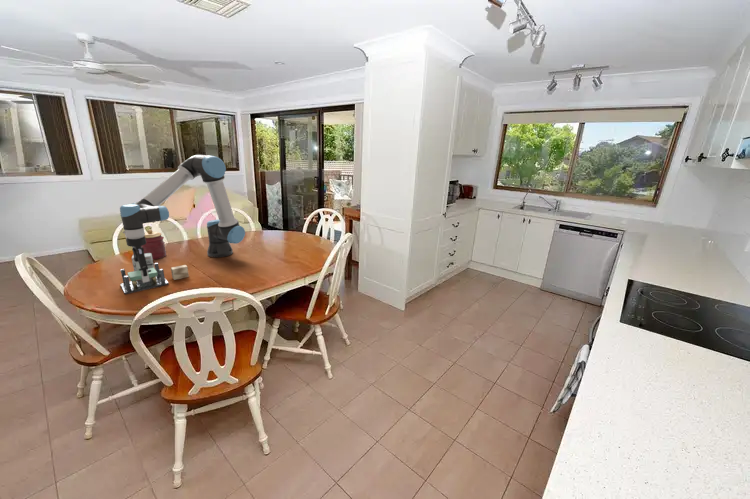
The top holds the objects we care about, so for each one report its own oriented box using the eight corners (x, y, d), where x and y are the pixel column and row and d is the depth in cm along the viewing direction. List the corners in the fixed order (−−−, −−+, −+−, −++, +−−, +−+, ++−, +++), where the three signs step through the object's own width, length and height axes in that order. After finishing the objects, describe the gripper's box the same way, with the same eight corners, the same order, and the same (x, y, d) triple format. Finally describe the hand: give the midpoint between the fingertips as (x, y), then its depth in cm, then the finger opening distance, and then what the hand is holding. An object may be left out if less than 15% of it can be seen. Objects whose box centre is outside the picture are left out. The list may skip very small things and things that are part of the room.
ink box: (135, 278, 164) (131, 257, 160) (136, 275, 167) (131, 254, 164) (155, 275, 168) (151, 255, 165) (155, 272, 172) (151, 252, 168)
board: (154, 271, 162) (153, 266, 161) (157, 275, 156) (157, 270, 156) (128, 276, 154) (127, 271, 153) (130, 281, 149) (129, 276, 148)
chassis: (162, 276, 167) (160, 262, 165) (168, 284, 159) (166, 269, 156) (120, 285, 155) (117, 269, 152) (124, 294, 146) (121, 278, 144)
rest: (187, 274, 171) (185, 264, 169) (188, 276, 169) (187, 266, 167) (172, 278, 167) (170, 267, 165) (174, 279, 164) (172, 269, 162)
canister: (143, 261, 187) (137, 233, 182) (140, 255, 196) (135, 228, 191) (168, 257, 195) (163, 230, 190) (164, 252, 204) (160, 226, 199)
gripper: (121, 232, 155) (129, 271, 161) (130, 244, 138) (139, 287, 145) (139, 230, 160) (147, 268, 166) (150, 241, 143) (158, 283, 150)
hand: (143, 277), depth 156 cm, fingers open, 13 cm apart
